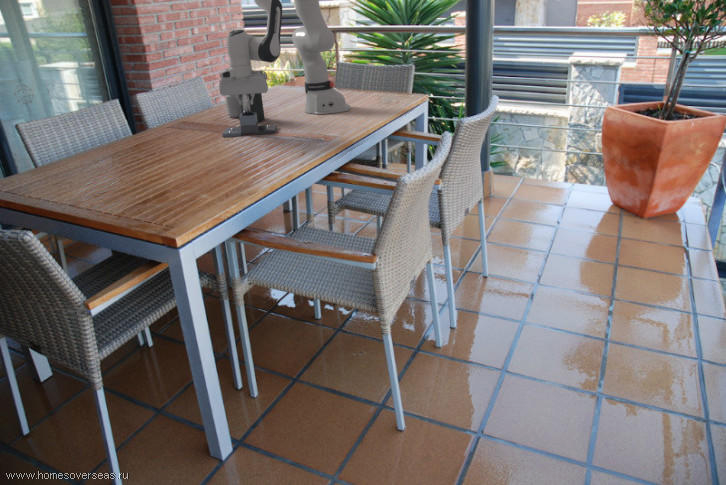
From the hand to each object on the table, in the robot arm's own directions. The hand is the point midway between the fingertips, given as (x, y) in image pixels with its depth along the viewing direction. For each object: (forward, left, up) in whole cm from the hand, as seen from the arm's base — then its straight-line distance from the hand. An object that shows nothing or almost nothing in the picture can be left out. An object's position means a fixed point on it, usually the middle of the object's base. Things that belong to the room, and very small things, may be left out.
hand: (246, 104), depth 245 cm
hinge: (0, 0, -12) cm, 12 cm away
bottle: (+1, -22, -12) cm, 25 cm away
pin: (0, 0, -6) cm, 6 cm away
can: (+11, -34, -12) cm, 38 cm away
